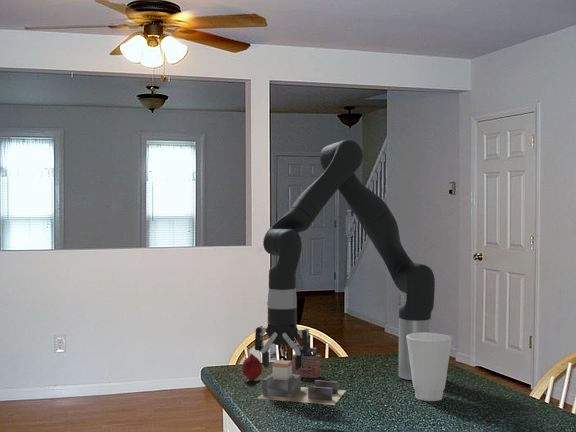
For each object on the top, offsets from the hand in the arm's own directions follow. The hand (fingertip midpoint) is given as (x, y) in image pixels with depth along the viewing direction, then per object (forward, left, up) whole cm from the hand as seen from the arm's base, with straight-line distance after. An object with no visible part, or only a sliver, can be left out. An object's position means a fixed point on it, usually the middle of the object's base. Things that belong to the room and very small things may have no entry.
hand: (282, 368), depth 184 cm
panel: (-5, 0, -8) cm, 10 cm away
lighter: (-1, -19, -8) cm, 21 cm away
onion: (+14, -15, -8) cm, 22 cm away
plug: (0, 0, -6) cm, 6 cm away
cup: (-36, -12, -8) cm, 39 cm away
